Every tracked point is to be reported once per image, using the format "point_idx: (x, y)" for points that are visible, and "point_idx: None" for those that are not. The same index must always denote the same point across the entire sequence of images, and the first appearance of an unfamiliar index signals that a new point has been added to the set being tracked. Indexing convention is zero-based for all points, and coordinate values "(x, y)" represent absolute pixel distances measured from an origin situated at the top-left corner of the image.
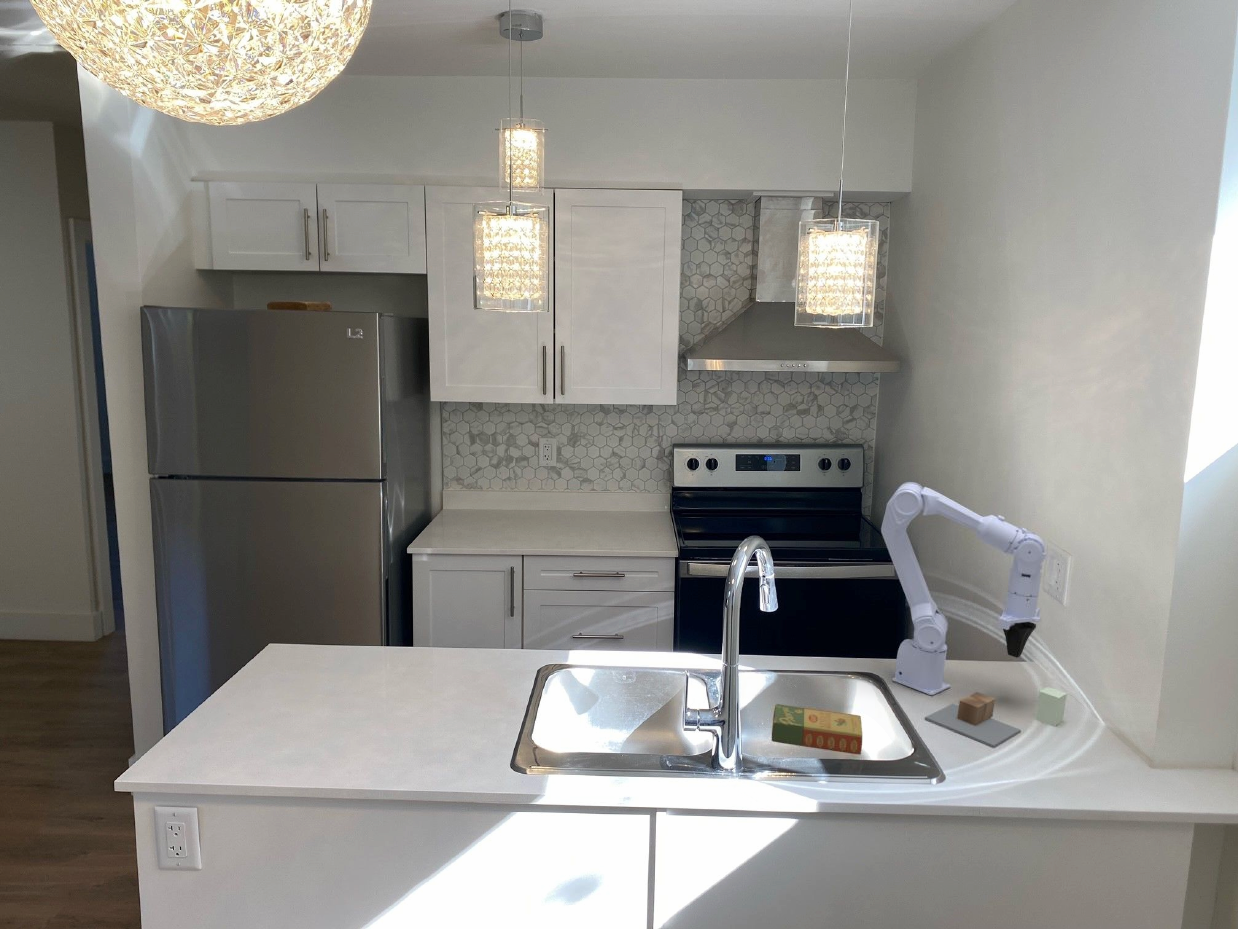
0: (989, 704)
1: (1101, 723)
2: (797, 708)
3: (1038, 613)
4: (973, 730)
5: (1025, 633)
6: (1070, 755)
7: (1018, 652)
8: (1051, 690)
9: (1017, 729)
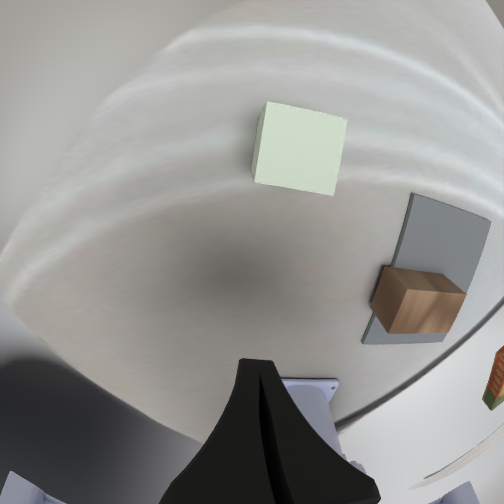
0: (425, 286)
1: (181, 39)
2: (498, 399)
3: (15, 499)
4: (460, 269)
5: (353, 476)
6: (441, 83)
7: (281, 380)
8: (285, 159)
9: (418, 200)
